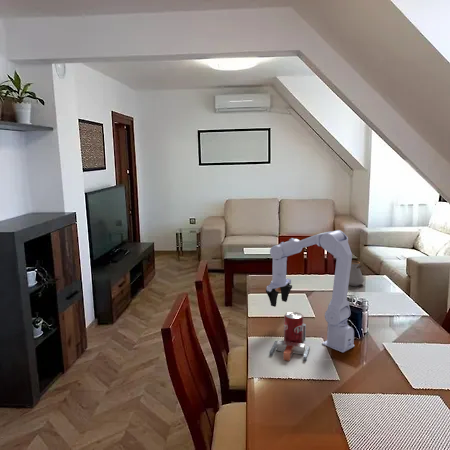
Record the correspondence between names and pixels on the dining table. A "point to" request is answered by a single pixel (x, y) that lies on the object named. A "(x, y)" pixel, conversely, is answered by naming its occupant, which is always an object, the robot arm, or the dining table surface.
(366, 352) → the dining table surface
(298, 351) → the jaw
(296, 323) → the soda can
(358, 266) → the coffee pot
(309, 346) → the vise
